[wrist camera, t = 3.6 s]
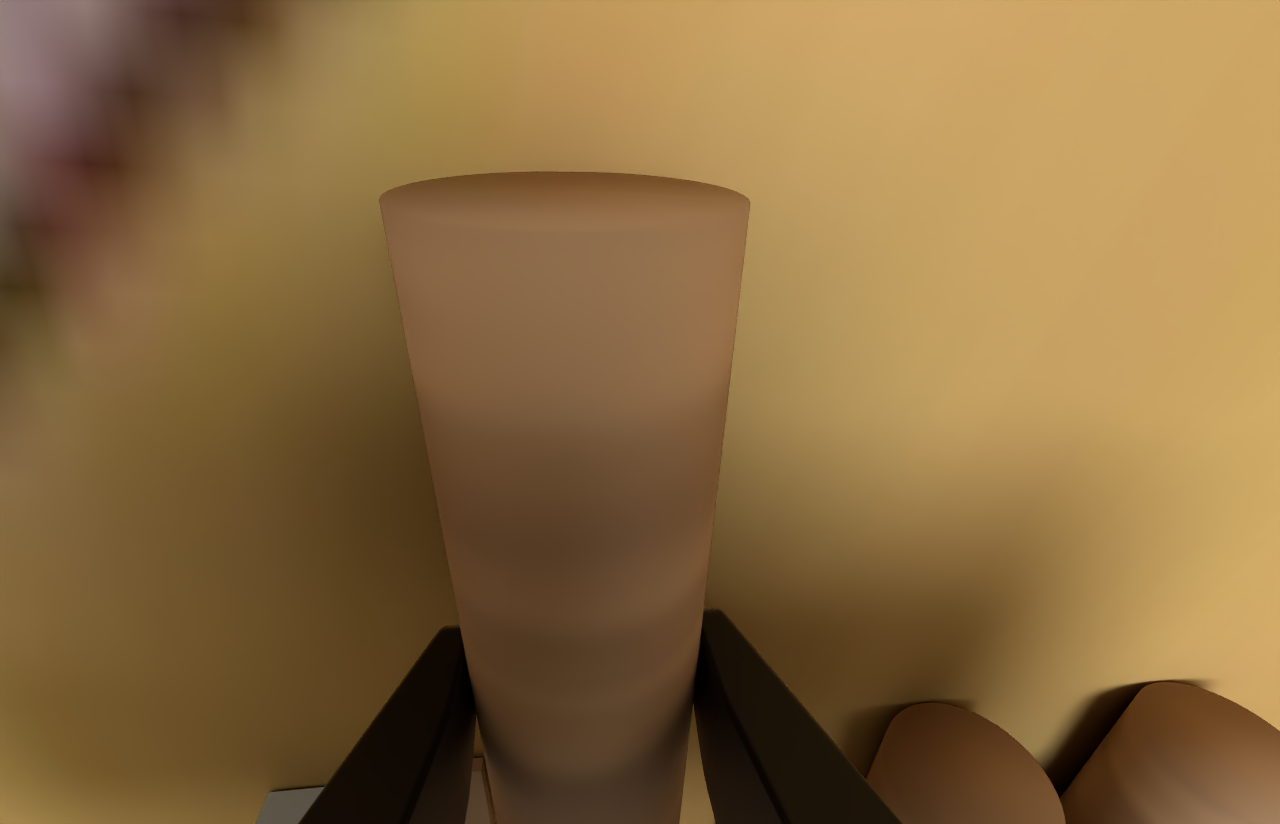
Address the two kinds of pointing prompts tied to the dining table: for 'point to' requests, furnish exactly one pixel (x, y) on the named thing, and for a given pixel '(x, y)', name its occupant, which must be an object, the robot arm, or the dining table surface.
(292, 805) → the bar
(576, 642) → the roller
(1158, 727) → the roller track
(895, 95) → the dining table surface
